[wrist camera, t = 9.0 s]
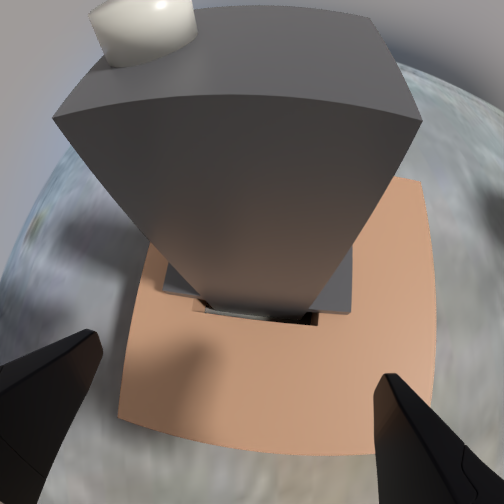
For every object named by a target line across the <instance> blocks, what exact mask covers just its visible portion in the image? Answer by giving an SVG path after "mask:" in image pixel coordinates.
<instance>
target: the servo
mask: <svg viewBox="0 0 504 504" xmlns="http://www.w3.org/2000/svg"><path fill="white" fill-rule="evenodd" d="M88 17H89V19H90V22H91V24H92V27H93V29H94V31H95V34H96V36H97V39H98V40H99V43H100V46H101V48H102V50H103V53H104V56H102V58H101V59H100V60H99V61H98V62H97V63H96V64H95V65H94V66H93V67H92V68H91V69H90V71H89V72H88V73H87V74H86V75H85V76H84V77H83V79H82V80H81V81H80V82H79V83H78V84H77V86H76V87H75V88H74V89H73V91H72V92H71V93H70V94H69V96H68V97H67V98H66V99H65V101H64V102H63V103H62V105H61V106H60V108H59V109H58V110H57V112H56V113H55V114H54V116H53V117H52V119H53V120H54V122H55V123H56V124H57V126H58V127H59V129H60V130H61V131H62V133H63V134H64V136H65V137H66V138H67V140H68V141H69V142H70V144H71V145H72V146H73V148H74V149H75V151H76V152H77V153H78V154H79V156H80V157H81V158H82V160H83V161H84V162H85V164H86V165H87V166H88V168H89V169H90V170H91V171H92V173H93V174H94V175H95V176H96V178H97V179H98V180H99V181H100V183H101V184H102V185H103V186H104V188H105V189H106V190H107V191H108V193H109V194H110V195H111V196H112V197H113V199H114V200H115V201H116V202H117V204H118V205H119V206H120V207H121V208H122V210H123V211H124V212H125V213H126V214H127V215H128V217H129V218H130V219H131V220H132V221H133V222H134V224H135V225H136V226H137V227H138V228H139V229H140V230H141V232H142V233H143V234H144V235H145V236H146V237H147V238H148V240H149V241H150V242H151V243H152V244H153V245H154V246H155V247H156V248H157V250H158V251H159V252H160V253H161V254H162V255H163V256H164V257H165V258H166V259H167V261H168V267H167V271H166V275H165V280H164V284H163V289H162V291H164V292H165V293H166V294H170V295H176V296H183V297H189V298H196V299H203V300H206V301H207V302H208V303H209V304H210V306H211V307H212V308H213V309H214V310H216V311H223V312H230V313H238V314H246V315H254V316H263V317H272V318H281V319H291V320H301V318H302V317H303V316H304V314H305V313H306V312H316V313H328V314H341V315H348V314H349V313H351V305H352V270H353V243H354V242H355V240H356V238H357V237H358V235H359V234H360V232H361V231H362V229H363V227H364V226H365V224H366V222H367V221H368V219H369V218H370V216H371V214H372V213H373V211H374V209H375V208H376V206H377V204H378V203H379V201H380V199H381V198H382V196H383V194H384V192H385V191H386V189H387V187H388V185H389V184H390V182H391V180H392V178H393V177H394V175H395V173H396V171H397V169H398V168H399V166H400V164H401V162H402V160H403V158H404V156H405V155H406V153H407V151H408V149H409V147H410V145H411V143H412V141H413V139H414V137H415V135H416V133H417V131H418V129H419V127H420V125H421V123H422V121H423V120H422V118H421V115H420V113H419V110H418V108H417V106H416V103H415V101H414V99H413V96H412V94H411V92H410V90H409V88H408V86H407V83H406V81H405V79H404V77H403V75H402V73H401V71H400V69H399V67H398V65H397V63H396V62H395V60H394V58H393V56H392V54H391V52H390V51H389V49H388V47H387V46H386V44H385V42H384V40H383V39H382V37H381V35H380V34H379V32H378V31H377V29H376V27H375V26H374V24H373V23H372V21H371V20H370V18H368V17H363V16H358V15H353V14H348V13H342V12H336V11H329V10H322V9H313V8H303V7H290V6H260V5H258V6H256V5H255V6H228V7H214V8H204V9H195V10H193V5H192V0H108V1H106V2H105V3H103V4H101V5H99V6H98V7H96V8H95V9H93V10H92V11H91V12H90V13H89V14H88Z"/></svg>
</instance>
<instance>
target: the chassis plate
mask: <svg viewBox="0 0 504 504" xmlns="http://www.w3.org/2000/svg"><path fill="white" fill-rule="evenodd" d="M167 267H168V261H167V259H166V258H165V257H164V256H163V255H162V254H161V253H160V252H159V251H158V250H157V248H156V247H155V246H154V245H153V244H152V243H151V242H150V245H149V248H148V252H147V256H146V260H145V264H144V268H143V272H142V276H141V280H140V284H139V288H138V293H137V297H136V302H135V307H134V311H133V316H132V321H131V326H130V332H129V337H128V343H127V349H126V355H125V361H124V368H123V374H122V382H121V390H120V398H119V407H118V417H117V418H120V419H122V420H125V421H128V422H131V423H134V424H137V425H140V426H143V427H146V428H149V429H152V430H155V431H159V432H162V433H166V434H169V435H173V436H177V437H181V438H185V439H189V440H193V441H198V442H202V443H207V444H212V445H217V446H223V447H228V448H235V449H241V450H248V451H256V452H265V453H275V454H289V455H311V456H341V455H362V454H375V446H374V409H373V394H374V391H375V388H376V386H377V384H378V383H379V381H380V379H381V377H382V375H383V374H384V373H397V374H398V375H399V376H400V377H401V378H402V379H403V380H404V381H405V382H406V383H407V384H408V385H409V386H410V387H411V388H412V389H413V390H414V391H415V392H416V393H417V394H418V395H419V396H420V397H421V398H422V399H423V401H424V402H425V403H426V404H427V405H428V406H429V407H430V405H431V398H432V389H433V380H434V368H435V352H436V292H435V276H434V264H433V254H432V245H431V237H430V230H429V224H428V217H427V211H426V206H425V201H424V196H423V191H422V186H421V182H419V181H415V180H410V179H405V178H400V177H395V176H394V177H393V178H392V180H391V182H390V184H389V185H388V187H387V189H386V191H385V192H384V194H383V196H382V198H381V199H380V201H379V203H378V204H377V206H376V208H375V209H374V211H373V213H372V214H371V216H370V218H369V219H368V221H367V222H366V224H365V226H364V227H363V229H362V231H361V232H360V234H359V235H358V237H357V238H356V240H355V242H354V243H353V270H352V305H351V313H349V314H348V315H341V314H328V313H316V312H312V317H311V326H310V325H299V324H288V323H278V322H269V321H260V320H252V319H244V318H236V317H229V316H222V315H215V314H208V313H205V307H206V300H203V299H196V298H189V297H183V296H176V295H170V294H166V293H165V292H164V291H162V289H163V284H164V280H165V275H166V271H167Z"/></svg>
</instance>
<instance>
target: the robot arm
mask: <svg viewBox="0 0 504 504" xmlns="http://www.w3.org/2000/svg"><path fill="white" fill-rule="evenodd" d="M102 356H103V348H102V345H101V342H100V339H99V336H98V334H97V332H95V331H93V330H89V329H84V330H82V331H80V332H77V333H75V334H73V335H71V336H68V337H66V338H64V339H61V340H59V341H57V342H55V343H52V344H50V345H48V346H45V347H43V348H41V349H39V350H36V351H34V352H32V353H29V354H27V355H25V356H23V357H20V358H18V359H16V360H13V361H11V362H9V363H7V364H5V365H2V366H0V504H37V502H38V499H39V496H40V494H41V491H42V489H43V486H44V484H45V481H46V478H47V476H48V474H49V471H50V469H51V467H52V464H53V462H54V460H55V458H56V455H57V453H58V451H59V449H60V447H61V444H62V442H63V440H64V438H65V436H66V434H67V432H68V430H69V428H70V426H71V424H72V422H73V419H74V417H75V415H76V414H77V412H78V410H79V408H80V406H81V404H82V402H83V400H84V398H85V396H86V394H87V392H88V390H89V387H90V385H91V383H92V380H93V378H94V375H95V373H96V370H97V368H98V366H99V363H100V361H101V359H102ZM373 409H374V446H375V455H376V466H377V478H378V492H379V504H504V480H503V479H502V478H501V477H499V476H498V475H497V474H496V473H495V472H493V471H492V470H491V469H490V468H489V467H488V466H487V465H486V464H485V463H483V462H482V461H481V460H480V459H479V458H478V457H477V456H476V455H475V454H474V453H473V452H472V451H471V450H470V448H469V447H468V446H467V445H464V442H463V441H462V440H461V439H460V438H459V437H458V436H457V435H456V434H455V433H454V432H453V431H452V430H451V429H450V427H449V426H448V425H447V424H446V423H445V422H444V421H443V420H442V419H441V418H440V417H439V416H438V415H437V414H436V413H435V412H434V411H433V410H432V409H431V408H430V407H429V406H428V405H427V404H426V403H425V402H424V401H423V399H422V398H421V397H420V396H419V395H418V394H417V393H416V392H415V391H414V390H413V389H412V388H411V387H410V386H409V385H408V384H407V383H406V382H405V381H404V380H403V379H402V378H401V377H400V376H399V375H398V374H397V373H384V374H383V375H382V377H381V379H380V381H379V383H378V384H377V386H376V388H375V391H374V394H373Z"/></svg>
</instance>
